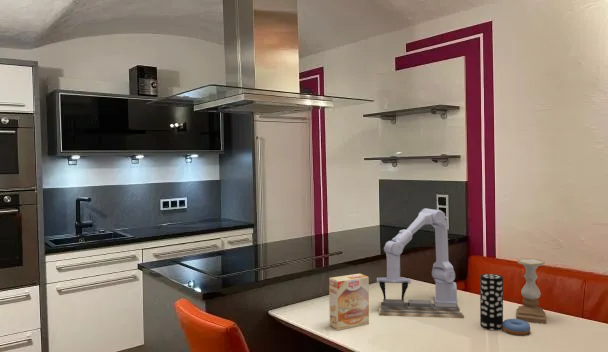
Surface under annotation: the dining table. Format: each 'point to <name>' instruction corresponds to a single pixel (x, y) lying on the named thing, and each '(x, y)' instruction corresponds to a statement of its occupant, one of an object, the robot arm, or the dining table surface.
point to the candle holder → (531, 294)
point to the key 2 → (445, 305)
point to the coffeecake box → (349, 301)
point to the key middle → (419, 303)
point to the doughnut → (516, 326)
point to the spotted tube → (491, 301)
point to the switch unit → (420, 311)
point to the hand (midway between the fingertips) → (393, 299)
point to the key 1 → (393, 302)
